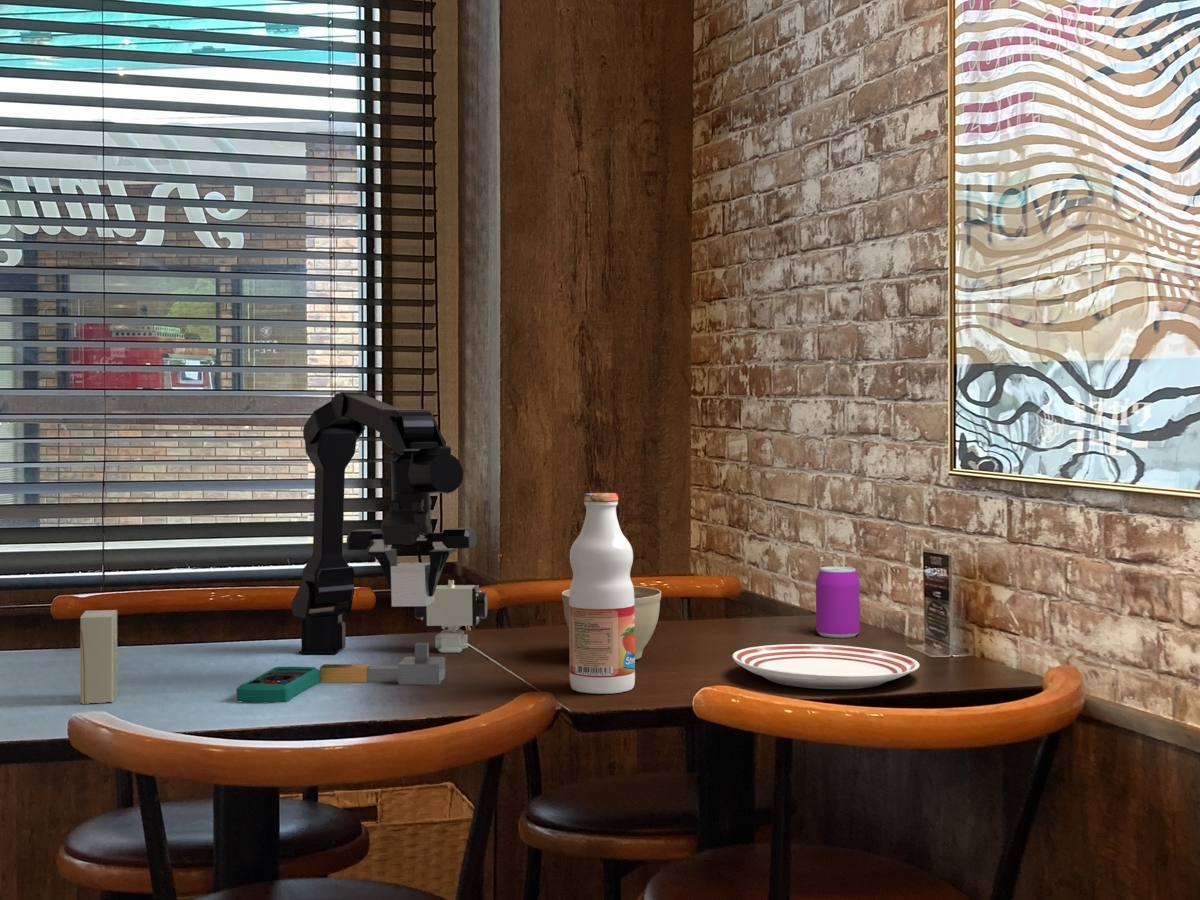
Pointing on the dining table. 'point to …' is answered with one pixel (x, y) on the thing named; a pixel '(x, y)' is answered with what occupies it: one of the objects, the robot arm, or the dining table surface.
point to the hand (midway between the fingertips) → (413, 596)
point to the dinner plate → (824, 665)
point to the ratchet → (391, 670)
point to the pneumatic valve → (453, 614)
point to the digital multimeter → (278, 684)
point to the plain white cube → (410, 584)
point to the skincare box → (98, 656)
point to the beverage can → (837, 602)
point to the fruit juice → (601, 602)
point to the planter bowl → (636, 614)
